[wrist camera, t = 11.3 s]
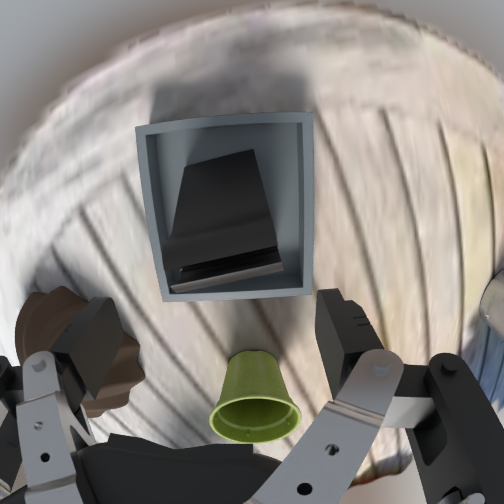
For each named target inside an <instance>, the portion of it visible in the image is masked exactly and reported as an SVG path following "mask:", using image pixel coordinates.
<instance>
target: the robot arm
mask: <svg viewBox="0 0 504 504" xmlns="http://www.w3.org/2000/svg"><path fill="white" fill-rule="evenodd" d="M480 316H481V318H482V319H483V320H484V321H485V322H486V323H487V324H488V326H489V327H490V328H491V329H492V330H493V331H494V332H495V333H496V334H497V336H498V337H499V338H500V339H501V340H502V341H503V342H504V269H503V270H502V271H501V272H499V273H498V274H497V275H496V276H495V277H494V278H493V280H492V281H491V282H490V284H489V285H488V287H487V289H486V291H485V293H484V295H483V297H482V300H481V304H480ZM315 335H316V340H317V344H318V347H319V351H320V354H321V358H322V361H323V365H324V369H325V372H326V376H327V379H328V383H329V387H330V390H331V394H332V398H333V402H332V401H328V402H327V403H326V404H325V405H324V407H323V408H322V410H321V411H320V413H319V414H318V415H317V417H316V418H315V420H314V421H313V422H312V424H311V425H310V427H309V428H308V429H307V431H306V432H305V433H304V435H303V436H302V437H301V439H300V440H299V441H298V443H297V444H296V445H295V447H294V448H293V449H292V450H291V452H290V453H289V454H288V456H287V457H286V458H285V459H284V460H283V462H281V461H279V460H277V459H274V458H272V457H269V456H265V455H262V454H256V453H254V449H253V444H210V445H205V446H199V447H192V448H185V449H171V448H168V447H165V446H162V445H159V444H156V443H154V442H151V441H148V440H145V439H143V438H138V437H131V436H125V435H119V434H113V433H110V436H109V439H108V442H105V443H98V444H97V442H96V440H95V438H94V435H93V432H92V430H91V427H90V424H89V421H88V418H87V415H86V412H85V409H84V407H83V405H82V404H81V402H82V400H83V399H87V400H93V401H95V399H96V397H97V395H98V393H99V390H100V388H101V386H102V384H103V382H104V380H105V378H106V375H107V373H108V371H109V369H110V367H111V365H112V363H113V361H114V359H115V357H116V355H117V353H118V351H119V349H120V347H121V345H122V342H123V328H122V325H121V322H120V319H119V316H118V313H117V310H116V307H115V304H114V301H113V300H112V298H110V297H94V298H92V300H91V301H90V302H89V303H88V305H87V306H86V307H85V309H83V310H82V311H80V312H79V313H78V314H76V315H75V316H74V317H73V318H72V320H71V321H70V322H69V325H67V326H66V328H65V329H64V331H63V332H62V333H61V334H60V336H59V337H58V338H57V340H56V341H55V342H54V344H53V345H52V347H51V348H50V349H49V351H40V352H37V353H34V354H32V355H31V356H30V357H28V358H27V359H26V361H25V362H24V364H23V366H14V367H12V366H11V364H10V362H9V361H8V359H7V358H6V357H5V356H0V401H1V402H2V403H3V405H4V406H5V407H6V408H7V410H8V414H7V415H6V417H5V419H4V421H3V423H2V425H1V427H0V504H338V503H339V501H340V500H341V498H342V497H343V495H344V493H345V492H346V490H347V489H348V487H349V485H350V484H351V482H352V480H353V478H354V477H355V475H356V473H357V471H358V470H359V468H360V466H361V464H362V462H363V461H364V459H365V457H366V455H367V453H368V451H369V449H370V447H371V445H372V443H373V441H374V439H375V437H376V435H377V433H378V431H379V429H380V427H389V428H405V430H406V433H407V436H408V439H409V443H410V446H411V449H412V452H413V455H414V459H415V461H416V465H417V469H418V472H419V476H420V479H421V483H422V486H423V490H424V494H425V498H426V502H427V504H504V428H503V426H502V424H501V423H500V421H499V419H498V417H497V415H496V413H495V411H494V409H493V408H492V406H491V404H490V402H489V400H488V399H487V397H486V395H485V393H484V392H483V390H482V388H481V387H480V385H479V383H478V382H477V380H476V378H475V377H474V375H473V373H472V372H471V370H470V369H469V367H468V365H467V364H466V362H465V361H464V360H463V359H462V358H460V357H459V356H457V355H454V354H451V353H440V354H437V355H435V356H433V357H432V358H431V360H430V362H429V364H428V366H424V365H408V364H403V361H402V360H401V358H400V357H399V356H398V355H396V354H395V353H393V352H391V351H388V350H385V349H384V347H383V345H382V343H381V342H380V340H379V338H378V336H377V334H376V332H375V330H374V329H373V327H372V325H370V321H369V320H368V318H367V317H366V314H365V312H364V311H363V309H362V307H361V306H359V305H358V304H357V303H355V302H354V301H353V300H348V301H344V299H343V297H342V295H341V293H340V291H339V289H338V288H335V289H322V290H318V292H317V302H316V317H315ZM22 460H23V465H24V470H25V475H26V480H27V485H25V486H23V487H22V488H20V489H18V490H17V491H15V492H14V493H12V494H11V490H12V487H13V484H14V481H15V479H16V476H17V473H18V470H19V468H20V465H21V462H22Z"/></svg>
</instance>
